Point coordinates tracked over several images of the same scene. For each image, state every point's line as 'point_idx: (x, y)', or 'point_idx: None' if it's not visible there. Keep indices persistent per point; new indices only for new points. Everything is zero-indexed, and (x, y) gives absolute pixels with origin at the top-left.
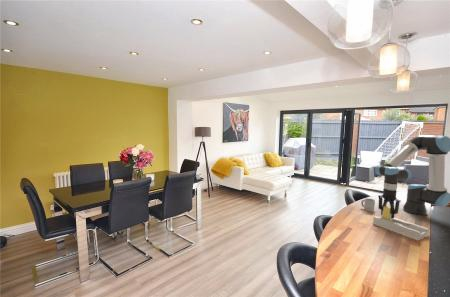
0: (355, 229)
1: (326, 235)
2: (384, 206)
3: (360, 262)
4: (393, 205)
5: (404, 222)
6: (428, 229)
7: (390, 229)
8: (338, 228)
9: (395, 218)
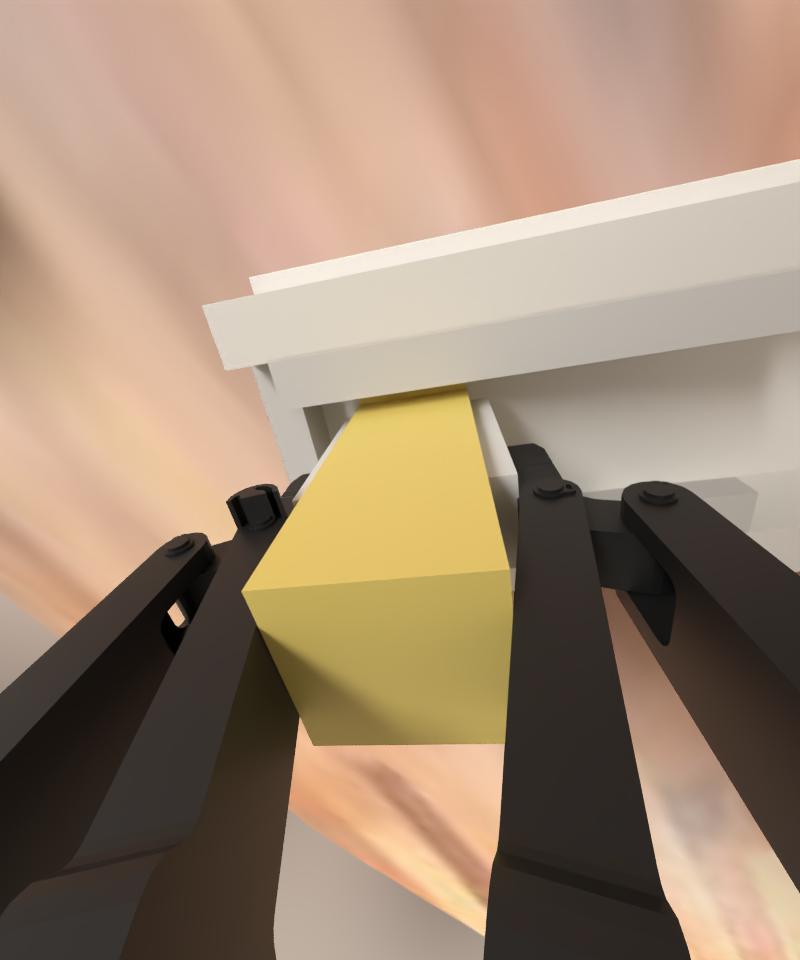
0: (411, 760)
1: (424, 895)
2: (329, 737)
3: (689, 943)
4: (626, 777)
5: (726, 334)
6: None
7: None
8: (364, 818)
9: (491, 299)
